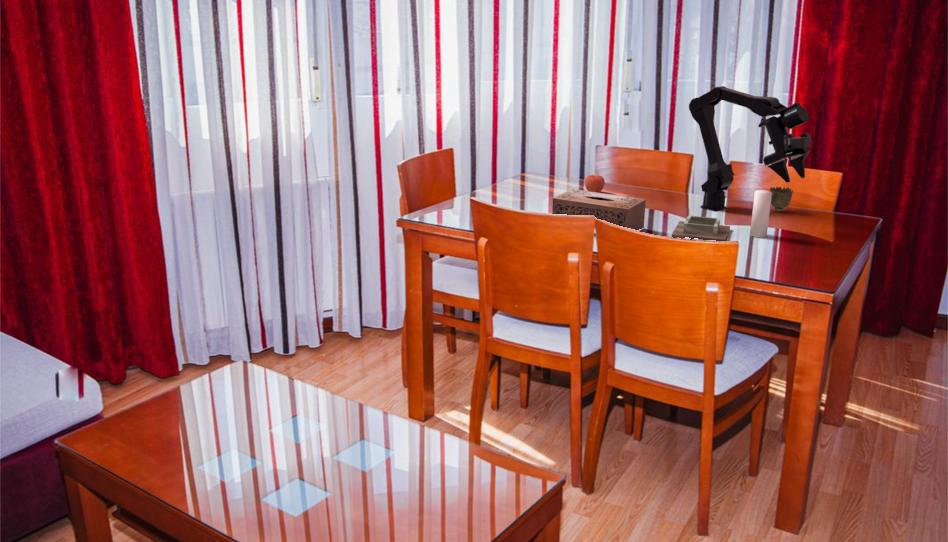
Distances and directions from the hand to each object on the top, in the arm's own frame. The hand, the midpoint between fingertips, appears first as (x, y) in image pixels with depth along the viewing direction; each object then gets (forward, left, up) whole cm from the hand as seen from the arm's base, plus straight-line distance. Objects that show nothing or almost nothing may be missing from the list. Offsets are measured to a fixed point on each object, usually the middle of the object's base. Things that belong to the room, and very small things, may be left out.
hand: (796, 180), depth 269 cm
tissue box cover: (-37, -51, -16) cm, 65 cm away
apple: (-70, -18, -15) cm, 74 cm away
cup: (-12, +13, -15) cm, 23 cm away
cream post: (0, -18, -15) cm, 24 cm away
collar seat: (-12, -31, -15) cm, 36 cm away
